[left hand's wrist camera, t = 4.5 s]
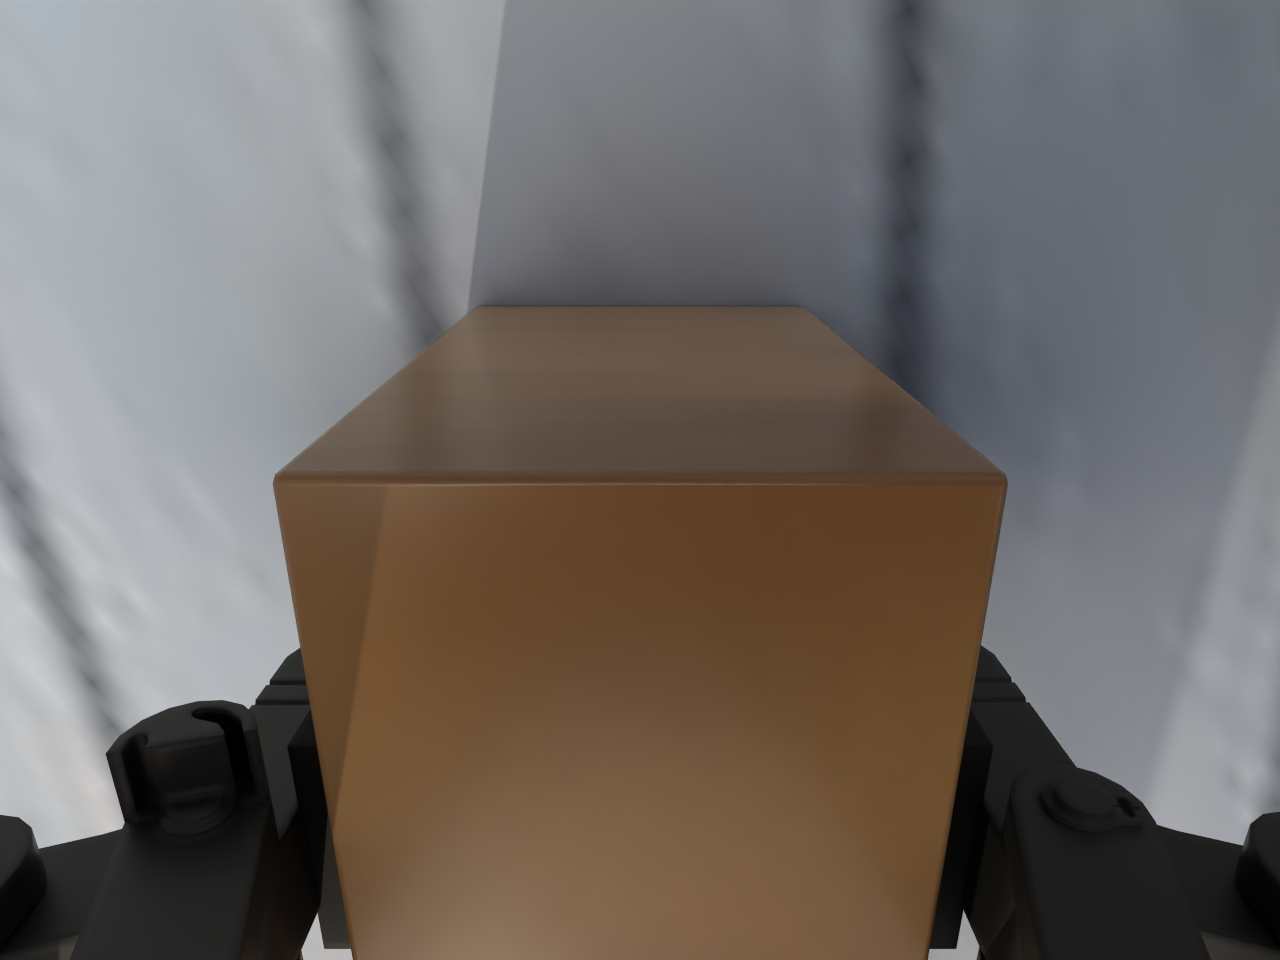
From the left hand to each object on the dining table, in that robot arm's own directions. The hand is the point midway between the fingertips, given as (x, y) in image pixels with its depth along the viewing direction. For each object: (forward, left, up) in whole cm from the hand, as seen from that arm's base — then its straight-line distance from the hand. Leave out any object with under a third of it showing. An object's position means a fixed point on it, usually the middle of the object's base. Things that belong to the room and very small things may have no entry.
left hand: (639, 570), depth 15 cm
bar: (-3, +31, -1) cm, 31 cm away
